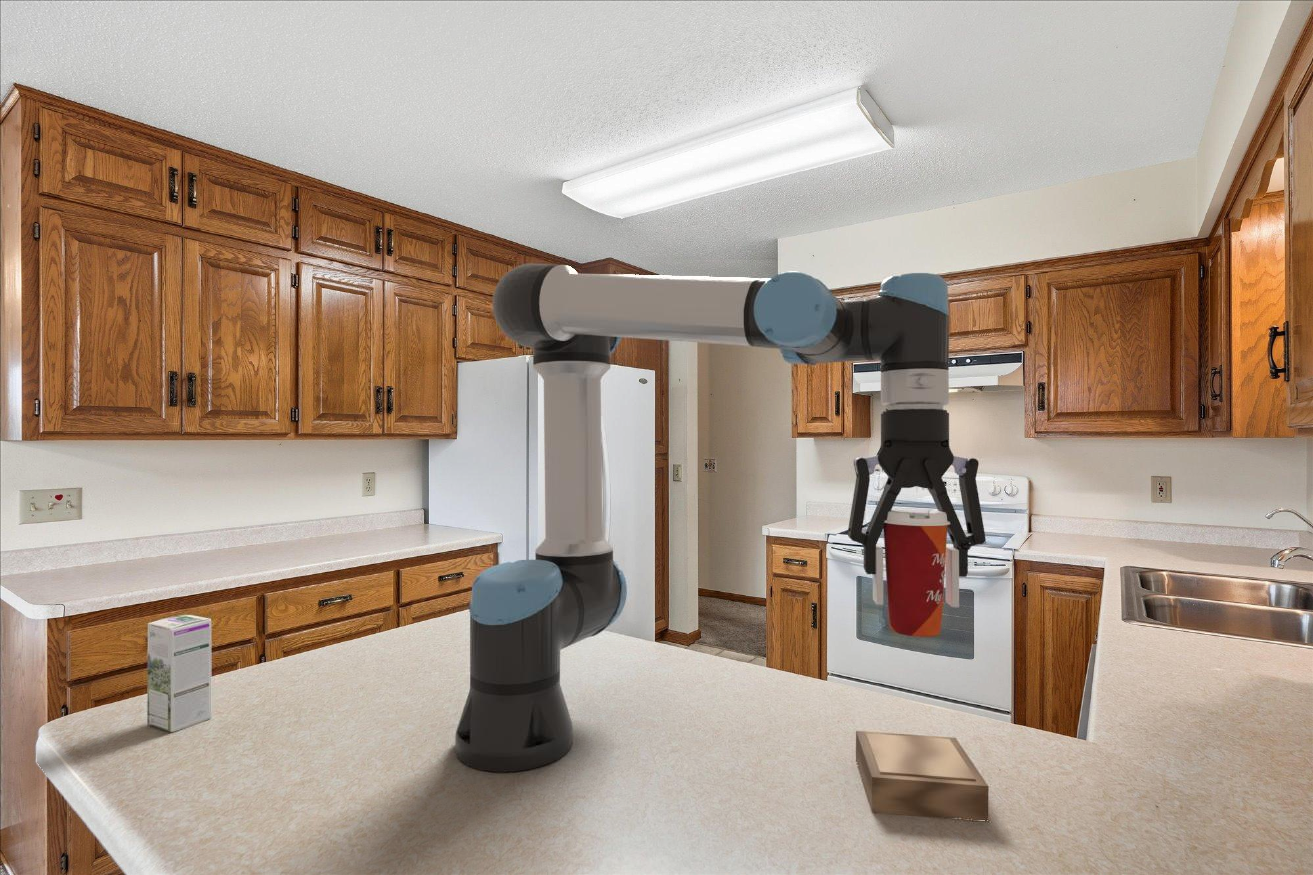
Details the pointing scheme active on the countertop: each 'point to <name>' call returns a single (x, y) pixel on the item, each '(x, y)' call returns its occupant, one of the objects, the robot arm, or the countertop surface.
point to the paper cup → (915, 569)
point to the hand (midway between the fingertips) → (914, 602)
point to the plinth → (920, 776)
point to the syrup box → (179, 672)
